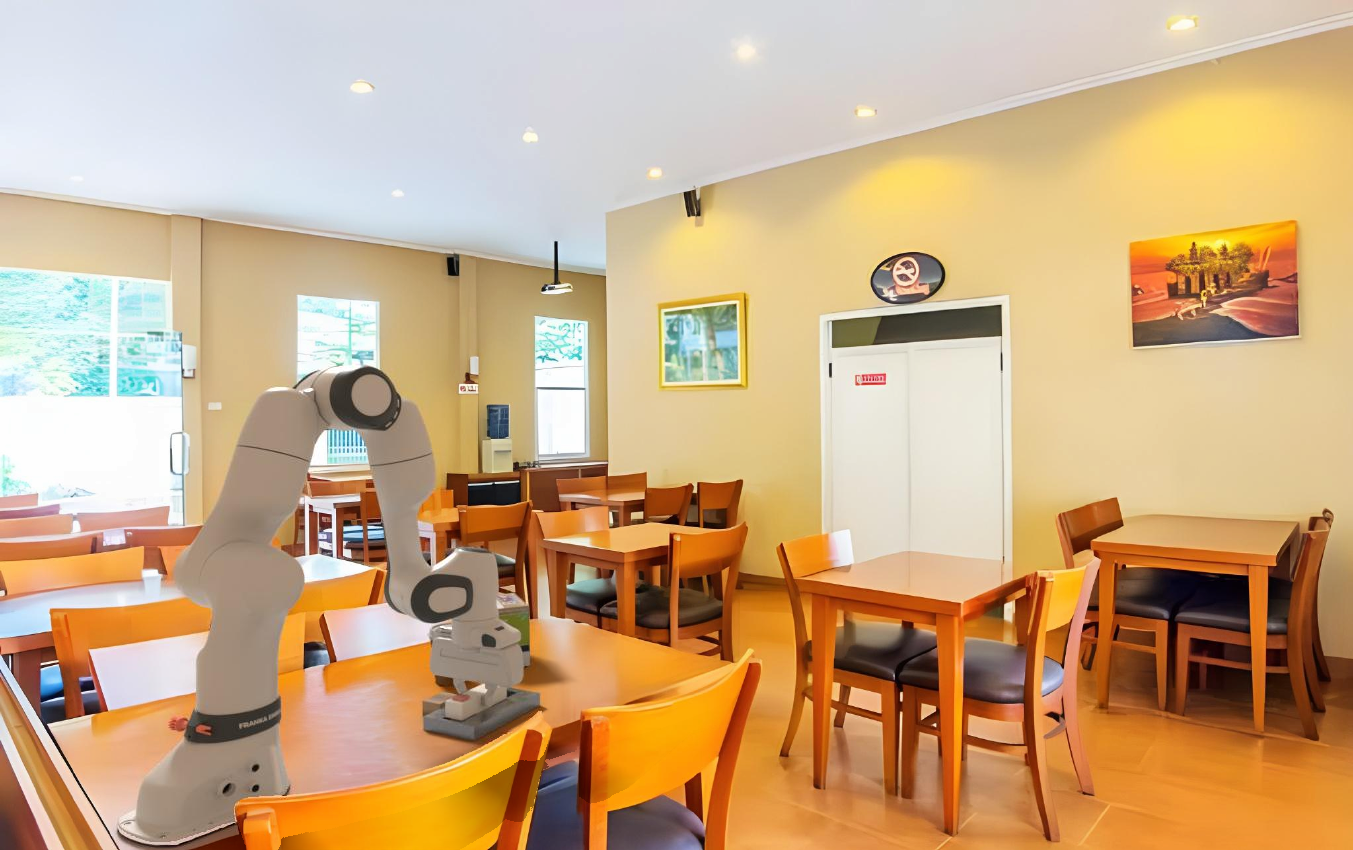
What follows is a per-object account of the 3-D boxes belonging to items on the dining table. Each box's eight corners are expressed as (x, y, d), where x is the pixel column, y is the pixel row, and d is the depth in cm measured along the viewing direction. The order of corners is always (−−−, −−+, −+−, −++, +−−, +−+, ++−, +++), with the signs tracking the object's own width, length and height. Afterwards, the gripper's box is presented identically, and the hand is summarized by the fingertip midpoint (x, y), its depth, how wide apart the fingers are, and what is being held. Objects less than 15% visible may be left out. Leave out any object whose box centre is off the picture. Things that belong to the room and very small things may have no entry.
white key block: (462, 732, 146) (462, 701, 146) (445, 729, 147) (445, 697, 147) (506, 709, 157) (506, 680, 157) (490, 706, 159) (490, 677, 159)
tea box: (475, 655, 195) (475, 595, 195) (516, 650, 200) (515, 591, 200) (488, 672, 182) (487, 608, 182) (531, 667, 186) (531, 604, 186)
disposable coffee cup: (460, 689, 170) (460, 633, 170) (419, 686, 172) (419, 631, 172) (479, 675, 180) (479, 622, 180) (441, 673, 181) (441, 620, 181)
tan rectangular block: (439, 719, 153) (439, 704, 153) (422, 716, 155) (422, 700, 155) (459, 710, 158) (459, 695, 158) (442, 706, 160) (442, 692, 160)
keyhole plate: (474, 741, 142) (474, 727, 142) (423, 729, 148) (423, 716, 148) (540, 705, 160) (540, 693, 160) (492, 696, 166) (492, 684, 166)
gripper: (422, 629, 154) (422, 700, 154) (507, 641, 145) (507, 717, 145) (444, 621, 159) (445, 690, 159) (528, 633, 150) (528, 706, 150)
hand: (475, 703), depth 152 cm, fingers open, 4 cm apart
